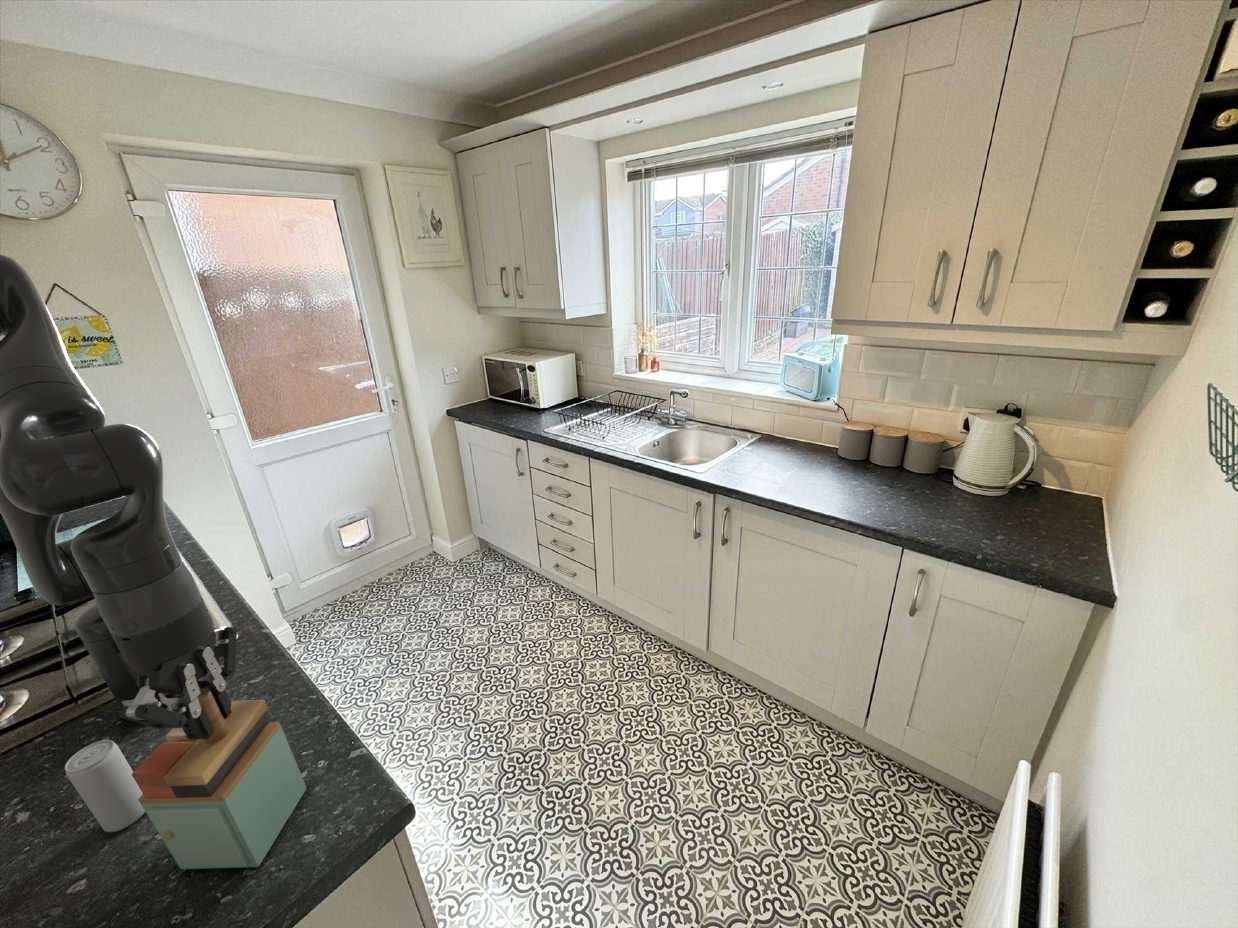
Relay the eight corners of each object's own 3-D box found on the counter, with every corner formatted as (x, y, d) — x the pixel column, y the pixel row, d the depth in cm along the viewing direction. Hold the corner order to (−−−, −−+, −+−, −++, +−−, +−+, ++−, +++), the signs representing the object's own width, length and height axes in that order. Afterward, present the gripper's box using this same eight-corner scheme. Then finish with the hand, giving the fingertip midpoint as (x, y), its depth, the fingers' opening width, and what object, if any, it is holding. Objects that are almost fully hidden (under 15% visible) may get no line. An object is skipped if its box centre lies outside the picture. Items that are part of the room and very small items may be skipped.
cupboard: (239, 790, 70) (206, 724, 65) (307, 787, 70) (279, 721, 65) (174, 877, 60) (130, 806, 55) (253, 874, 59) (216, 803, 55)
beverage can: (160, 799, 69) (125, 739, 65) (125, 835, 65) (84, 773, 60) (130, 797, 70) (93, 737, 65) (94, 833, 65) (51, 771, 61)
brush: (273, 719, 65) (248, 661, 61) (212, 796, 55) (179, 733, 51) (240, 720, 65) (214, 662, 61) (174, 798, 55) (138, 735, 51)
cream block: (203, 730, 64) (191, 708, 63) (232, 729, 64) (221, 707, 63) (177, 758, 60) (164, 735, 59) (208, 757, 60) (196, 734, 59)
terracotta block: (175, 765, 60) (162, 742, 58) (206, 764, 59) (194, 741, 58) (145, 798, 56) (130, 774, 54) (178, 796, 56) (165, 773, 54)
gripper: (176, 573, 58) (226, 682, 65) (51, 658, 45) (128, 783, 52) (237, 571, 58) (281, 680, 65) (129, 655, 45) (196, 781, 52)
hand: (212, 725), depth 58 cm, fingers closed on brush, 2 cm apart
